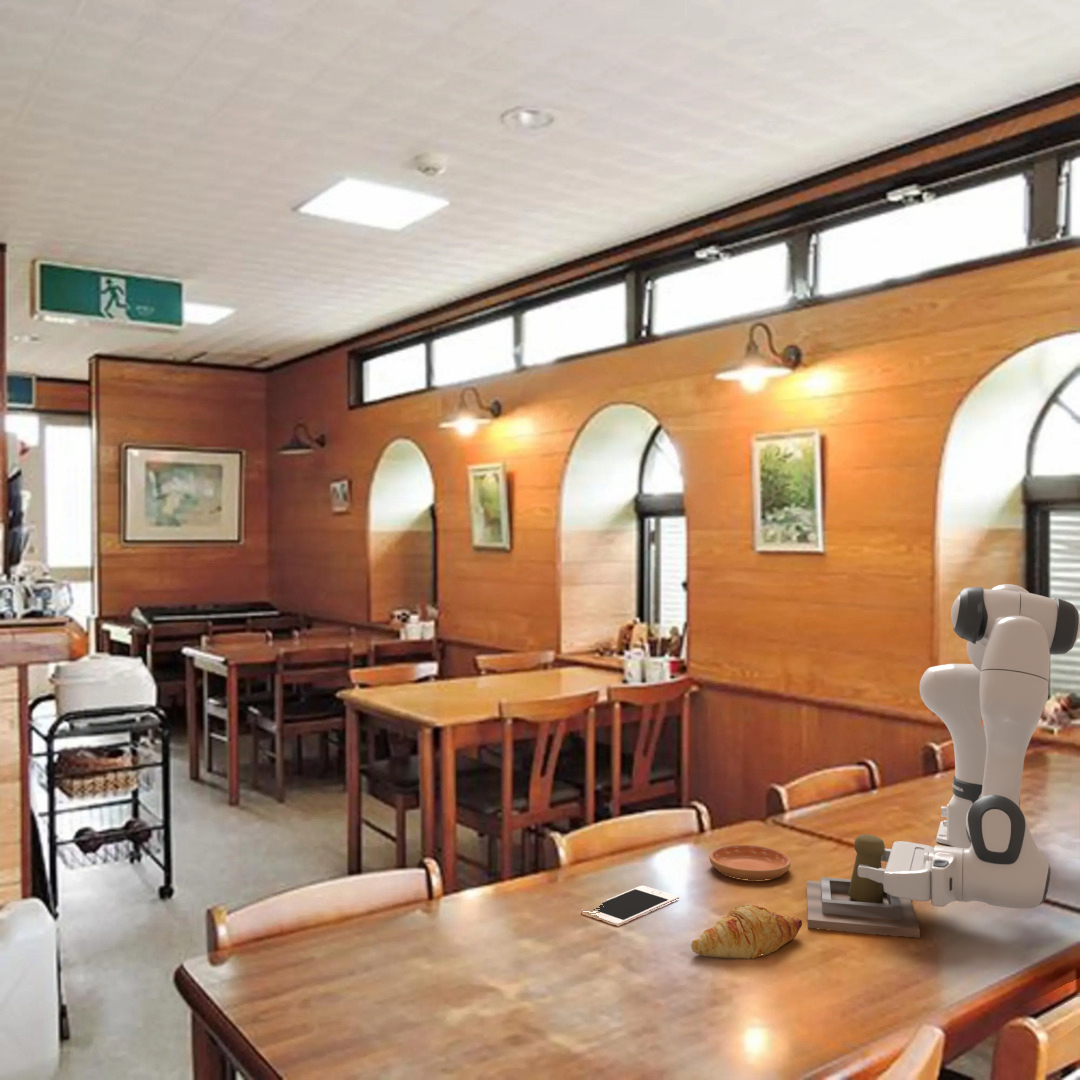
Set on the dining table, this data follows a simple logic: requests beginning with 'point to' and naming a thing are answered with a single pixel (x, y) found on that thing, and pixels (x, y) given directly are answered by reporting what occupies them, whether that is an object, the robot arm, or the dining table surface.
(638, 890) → the cell phone
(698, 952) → the croissant
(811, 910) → the square frame holder
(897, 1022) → the dining table surface
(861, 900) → the olive pepper mill
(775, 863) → the saucer
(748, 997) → the dining table surface
